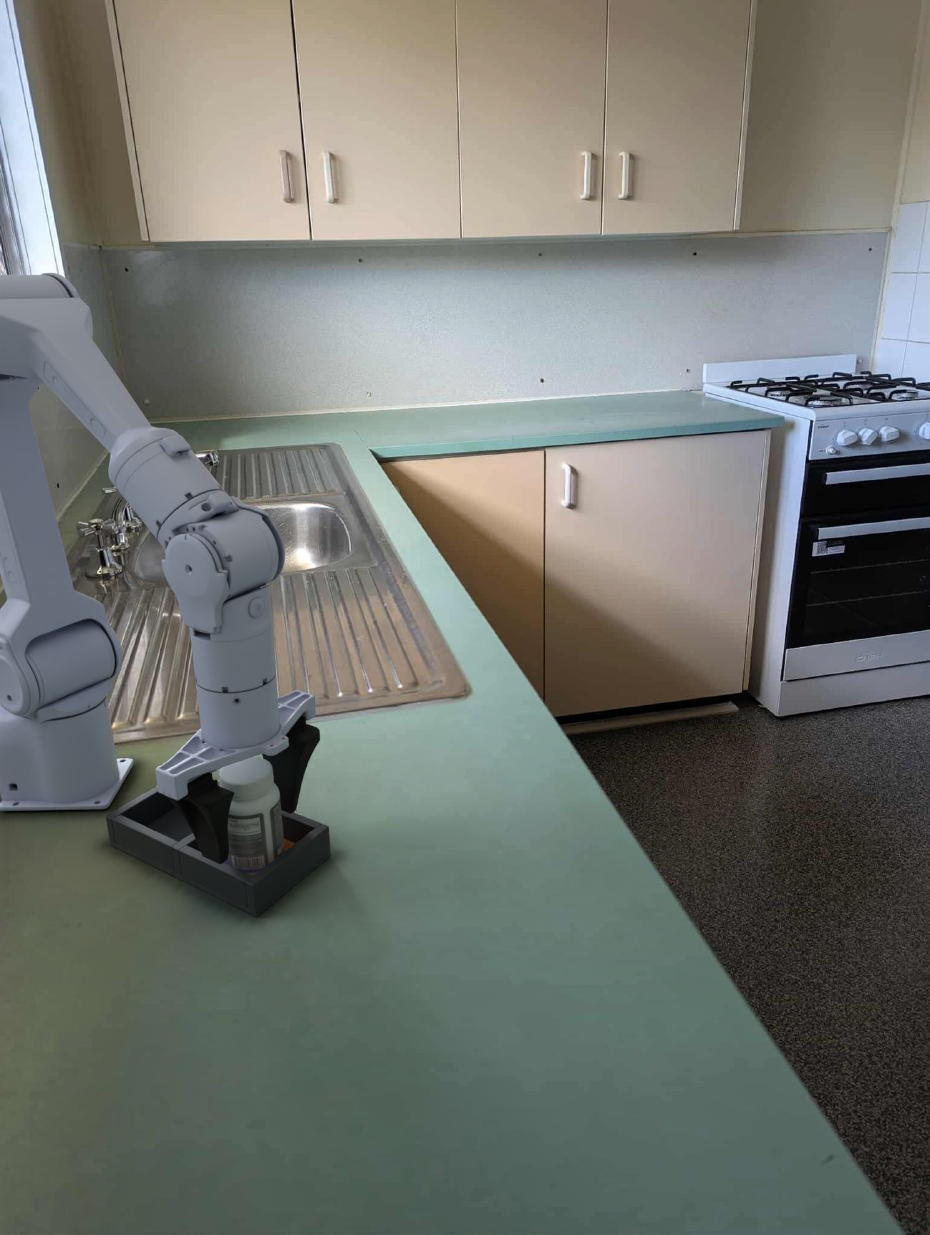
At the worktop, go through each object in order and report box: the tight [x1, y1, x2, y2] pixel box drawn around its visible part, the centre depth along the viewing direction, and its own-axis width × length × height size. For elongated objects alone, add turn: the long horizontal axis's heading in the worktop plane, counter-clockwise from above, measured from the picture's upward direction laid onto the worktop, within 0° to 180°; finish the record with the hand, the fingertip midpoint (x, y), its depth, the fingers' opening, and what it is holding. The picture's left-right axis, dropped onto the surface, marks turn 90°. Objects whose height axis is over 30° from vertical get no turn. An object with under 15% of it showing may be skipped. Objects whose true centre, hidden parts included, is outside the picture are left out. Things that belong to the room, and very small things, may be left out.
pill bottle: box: [218, 756, 285, 876], centre depth 68 cm, size 5×5×8 cm
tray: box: [105, 781, 332, 918], centre depth 71 cm, size 16×9×3 cm, turn 59°
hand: (251, 832), depth 69 cm, fingers open, 7 cm apart
